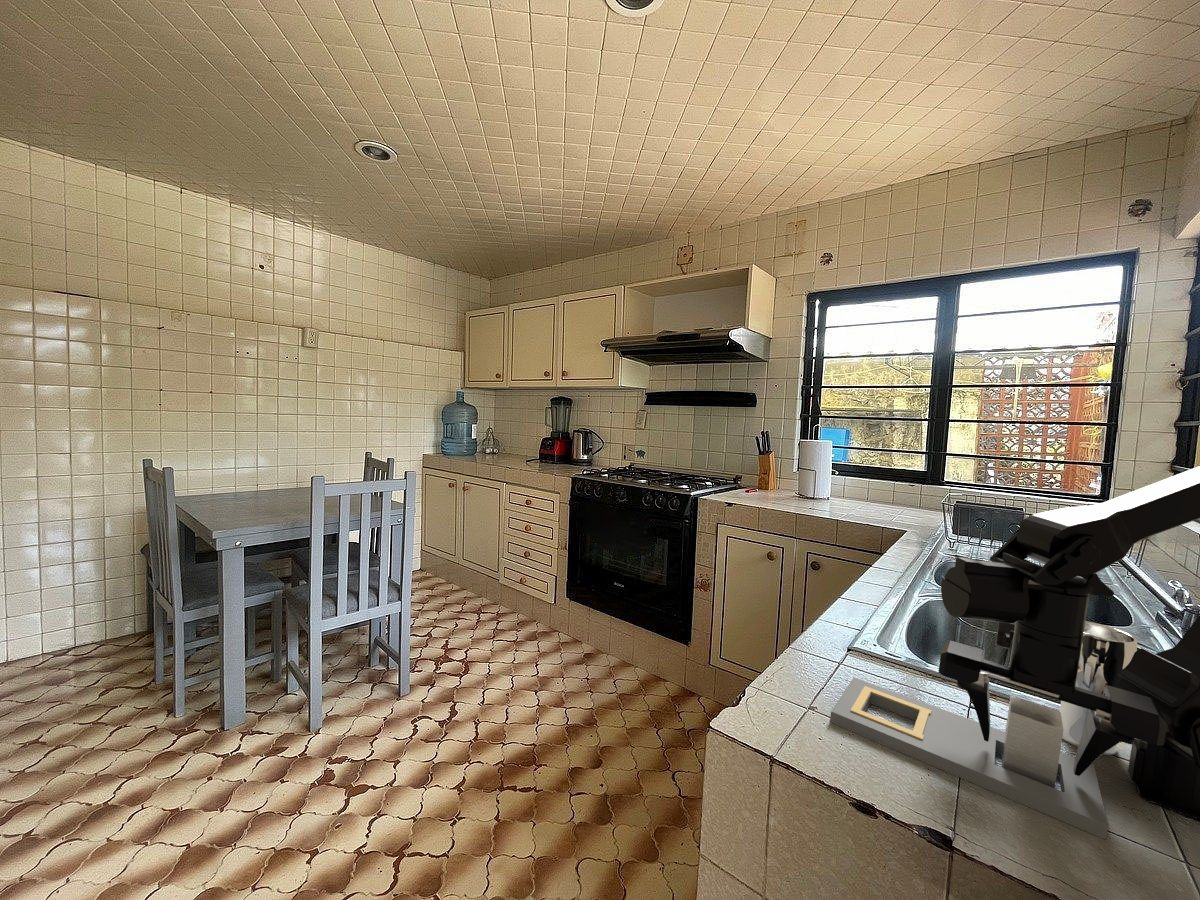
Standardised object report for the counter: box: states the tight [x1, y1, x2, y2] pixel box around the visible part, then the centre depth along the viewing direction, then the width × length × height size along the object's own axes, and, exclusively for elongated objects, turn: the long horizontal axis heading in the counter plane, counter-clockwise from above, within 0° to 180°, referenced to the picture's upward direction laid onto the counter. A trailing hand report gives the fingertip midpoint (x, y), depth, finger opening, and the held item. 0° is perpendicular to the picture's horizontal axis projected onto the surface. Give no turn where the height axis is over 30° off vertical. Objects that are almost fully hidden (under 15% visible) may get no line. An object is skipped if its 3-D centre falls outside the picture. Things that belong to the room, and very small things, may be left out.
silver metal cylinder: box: [1058, 620, 1139, 756], centre depth 65 cm, size 7×7×15 cm
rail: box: [829, 676, 1109, 840], centre depth 62 cm, size 26×12×2 cm, turn 50°
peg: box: [1000, 695, 1063, 789], centre depth 58 cm, size 4×4×8 cm
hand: (1029, 755), depth 58 cm, fingers open, 8 cm apart
